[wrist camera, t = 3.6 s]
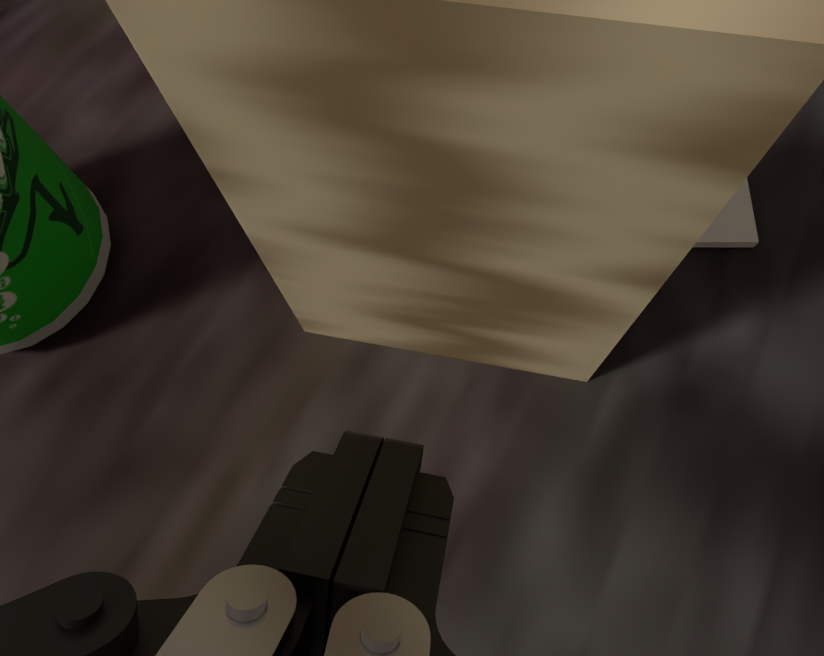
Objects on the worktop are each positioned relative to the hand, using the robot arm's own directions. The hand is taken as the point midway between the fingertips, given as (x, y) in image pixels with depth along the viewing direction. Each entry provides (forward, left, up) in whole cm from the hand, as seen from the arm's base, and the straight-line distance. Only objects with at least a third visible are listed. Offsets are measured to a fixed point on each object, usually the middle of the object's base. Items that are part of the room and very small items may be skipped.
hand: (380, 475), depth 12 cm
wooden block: (-1, -7, -9) cm, 11 cm away
